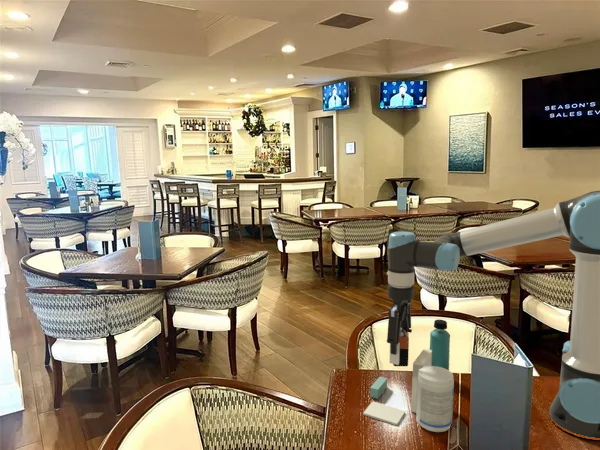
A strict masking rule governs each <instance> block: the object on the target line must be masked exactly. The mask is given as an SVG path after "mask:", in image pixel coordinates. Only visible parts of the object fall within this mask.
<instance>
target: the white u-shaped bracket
mask: <svg viewBox="0 0 600 450" xmlns="http://www.w3.org/2000/svg"><path fill="white" fill-rule="evenodd" d="M431 365H432V350H430V349H426V348H423V350H421V352H420V353H419V355H418V356H417V357H416V359H415V360H414V361H413V363H412V374H411V375H412V378H411V398H410V399H411V400H410V401H411V402H410V412H412V413H415V414H416V409H417V378H418V371H419V369H421V368H422V367H426V366H431Z"/></svg>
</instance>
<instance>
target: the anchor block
mask: <svg viewBox="0 0 600 450" xmlns="http://www.w3.org/2000/svg"><path fill="white" fill-rule="evenodd" d="M387 388H388V378H387V377H383V376H379V377H378V378H376V380H375V381H374V382H373V384H372V385H371V386H370V387H369V389H370V390H369V391H370V392H369V397H370V398H374V399H376V400H378V399H379V398H380V397H381V396H382V394H383V393H384V391H385V390H386V389H387Z"/></svg>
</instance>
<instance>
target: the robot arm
mask: <svg viewBox="0 0 600 450" xmlns="http://www.w3.org/2000/svg"><path fill="white" fill-rule="evenodd" d="M561 236H564V237H566V238H568V239H569V246H568V249H569V251H570V253H572V254H573V255H574V256H575V266H574V267H575V268H574V278H573V279H574V282H573V294H572V298H573V299H572V311H571V322H570V323H571V324H570V327H571V328H570V340H567V341H566V342H564V343H563V348H562V350H561V351H562V355H561V368H560V376H559V386H558V387H559V388H558V391H557V393H556V396H555V397H554V399H553V401H552V403H551V405H550V406H549V413H548V415H549V414H550V417H551V418H552V419H553V420H554V421H555V422H556V423H557V424H558V425H560V426H561V427H563V428H565V429H567V430H569V431H571V432H573V433H576V434H580V435H584V436H588V437H595V438H600V190H594V191H590V192H587V193H584V194H581V195H579V196H576V197H574V198H571V199H567V200H563V201H560V202H557V203H556V205H555V206H554V207H552V208H549V209H544V210H539V211H536V212H531V213H528V214H525V215H521V216H520V215H519V216H516V217H512V218H509V219H505V220H501V221H500V220H499V221H495V222H492V223H488V224H485V225H480V226H477V227H473V228H469V229H464V230H461V231H457V232H453V233H452V232H451V233H450V232H448V233H445V234H442V235H441V236H439V237H438V238H437V239H435V240H434V241H422V240H419V239H418V240H417V239H416V234H415V233H414V232H410V231H394V232H391V233H390V234H389V237H388V247H387V249H388V251H387V254H388V255H387V265H388V267H387V272H386V275H387V283H388V285H387V297H388V299H391V300H392V304H391V308H389V309H388V320H387V321H388V324H387V336H386V337H387V339H386V343H387V344H389V364H391V365H393V364H396V365H399V355H400V343H399V335H400V328H402V329H404V330H405V331H406V333H407V335H408V337H409V336H410V335H409V334H411V333H412V332H413V330H412V315H411V314H412V300H413V299H414V294H415V293H414V292H415V286H414V285H415V267H416V268H423V269H431V270H437V271H442V272H444V271H445V272H446V271H447V272H449V271H450V272H453V271H456V270H457V269H458V266H459V263H460V258H464V257H469V256H473V255H478V254H482V253H486V252H491V251H495V250H500V249H505V248H510V247H513V246H514V247H515V246H518V245H524V244H528V243H533V242H538V241H542V240H543V241H544V240H547V239H551V238H556V237H561Z"/></svg>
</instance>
